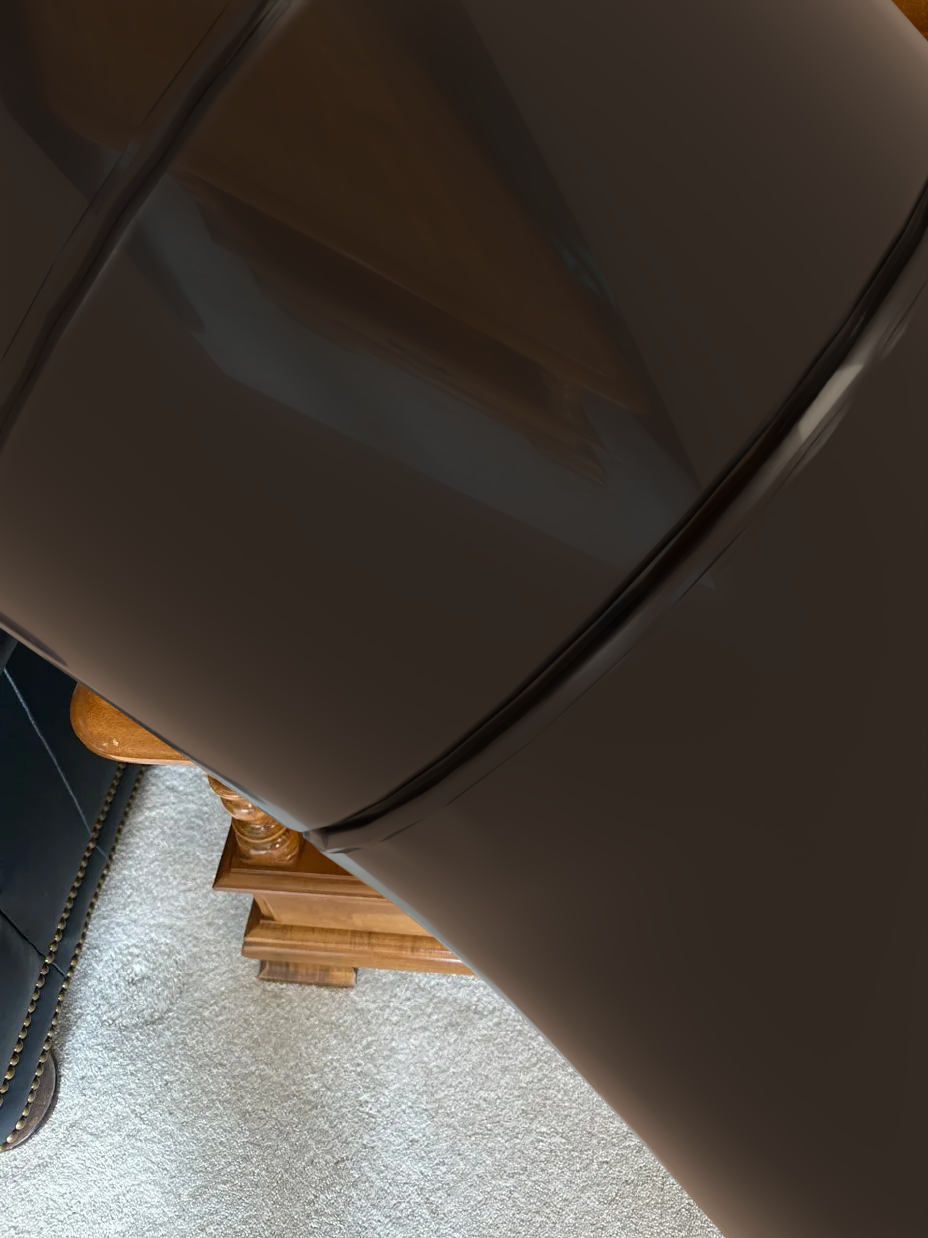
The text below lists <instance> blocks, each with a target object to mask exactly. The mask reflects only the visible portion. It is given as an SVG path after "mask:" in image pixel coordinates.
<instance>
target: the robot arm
mask: <svg viewBox="0 0 928 1238" xmlns="http://www.w3.org/2000/svg"><path fill="white" fill-rule="evenodd" d="M0 629H2V630H3V631H4V632H6V633H7V634H9V635H10V636H12V637H13V638H14V639H16V640H17V641H19V642H20V643H22V644H23V645H25V646H26V647H27V648H29V649H30V650H31V651H33V652H34V653H36V655H39V656H40V657H42V658H43V660H46V661H47V662H49V663H50V664H52V665H53V666H54V667H55V668H57V669H59V670H60V671H62V672H63V673H64V674H65V675H67V676H69V677H70V678H72V679H73V680H74V681H76V682H77V683H78V684H80V685H82V686H83V687H84V688H85V689H87V690H88V691H90V692H91V693H93V694H94V695H96V696H97V697H98V698H100V699H101V700H103V701H104V702H106V703H107V704H108V705H110V706H111V707H113V708H114V709H116V710H117V711H118V712H119V713H121V714H123V715H124V716H125V717H126V718H127V719H130V721H133V722H134V723H136V724H137V725H138V726H140V727H141V728H142V729H144V730H146V731H147V732H148V733H150V734H151V735H152V736H154V737H155V738H157V739H158V740H160V741H161V742H162V743H164V744H166V746H168V747H170V748H171V749H173V750H174V751H175V752H177V753H178V754H179V755H181V756H182V757H184V758H185V759H186V760H188V761H190V762H191V763H192V764H194V765H195V766H197V767H198V768H200V770H202V771H204V772H205V773H207V774H208V775H209V776H210V777H212V778H214V779H215V780H216V781H218V782H220V783H221V784H222V785H224V786H225V787H226V788H228V789H229V790H230V791H232V792H233V793H235V794H237V795H238V796H239V797H241V798H242V799H243V800H245V801H246V802H248V803H249V804H251V805H252V806H253V807H255V808H256V809H258V810H259V811H260V812H262V813H263V814H265V815H266V816H268V817H269V818H271V819H272V820H274V821H275V822H276V823H278V824H279V825H281V826H282V827H283V828H286V829H290V830H293V831H295V832H299V833H302V837H303V838H304V839H305V840H306V841H308V842H309V843H311V845H313V847H314V848H315V849H316V850H317V851H318V852H319V853H321V854H322V855H323V856H325V857H327V858H328V859H329V860H331V861H332V862H334V863H335V864H336V865H338V866H339V867H340V868H342V869H343V870H344V871H346V872H348V873H349V874H351V875H352V876H353V877H355V878H356V879H357V880H358V881H360V882H361V883H363V884H364V885H366V886H367V887H368V888H370V889H371V890H372V891H374V892H375V893H377V894H378V895H380V897H382V898H384V899H385V900H387V901H388V902H389V903H391V904H392V905H394V906H395V907H396V908H398V909H399V910H400V911H401V912H402V913H404V914H405V915H406V916H408V917H409V918H410V919H411V920H413V921H414V922H415V924H417V925H418V926H419V927H421V928H422V929H423V930H424V931H426V932H427V933H428V934H429V935H430V936H431V937H433V938H434V939H435V940H436V941H437V942H439V943H440V944H441V945H443V946H444V948H446V949H447V950H448V951H449V952H451V953H452V954H453V955H454V956H455V957H456V958H457V959H458V960H459V961H460V962H462V963H463V965H464V966H466V967H467V968H468V969H469V970H470V971H471V972H472V973H473V974H474V975H476V976H477V978H479V979H480V980H481V981H482V982H483V983H484V984H486V985H487V987H489V988H490V989H491V990H492V991H493V992H494V993H495V994H497V995H498V997H499V998H501V999H502V1000H503V1001H504V1002H505V1003H506V1004H508V1006H509V1007H511V1009H513V1010H514V1011H515V1012H516V1013H517V1014H518V1015H519V1016H520V1017H521V1018H522V1019H523V1020H524V1021H525V1022H526V1023H527V1024H528V1025H529V1026H530V1027H531V1028H532V1029H533V1031H535V1032H536V1033H537V1034H538V1035H539V1036H540V1037H541V1038H542V1040H544V1042H545V1043H547V1044H548V1045H549V1046H550V1047H551V1048H552V1050H554V1052H555V1053H556V1054H557V1055H558V1056H560V1058H561V1059H562V1060H563V1061H564V1062H565V1063H566V1064H567V1065H568V1066H569V1067H570V1068H571V1069H572V1070H573V1071H574V1072H575V1073H576V1074H577V1075H578V1076H579V1077H580V1078H581V1080H583V1081H584V1082H585V1083H586V1085H588V1086H589V1087H590V1089H591V1090H592V1091H593V1092H594V1093H595V1094H596V1095H597V1096H598V1097H599V1098H600V1099H601V1100H602V1101H603V1102H604V1103H605V1104H606V1106H608V1107H609V1109H610V1110H611V1111H612V1112H613V1113H614V1114H615V1115H616V1117H618V1118H619V1119H620V1120H621V1122H623V1123H624V1124H625V1126H627V1128H628V1129H629V1130H630V1131H631V1132H632V1133H633V1134H634V1136H635V1137H636V1138H637V1139H638V1140H639V1141H640V1143H641V1144H642V1145H643V1146H644V1147H645V1148H646V1149H647V1150H648V1151H649V1152H650V1154H651V1155H652V1156H653V1157H654V1158H655V1159H656V1161H657V1162H658V1163H659V1164H660V1165H661V1167H663V1168H664V1170H665V1171H666V1172H667V1173H668V1174H669V1176H670V1177H671V1178H673V1180H674V1181H675V1182H676V1183H677V1184H678V1185H679V1186H680V1188H681V1189H682V1190H683V1191H684V1193H686V1194H687V1196H689V1198H690V1199H691V1200H692V1201H693V1202H694V1204H696V1206H697V1207H698V1208H699V1209H700V1210H701V1211H702V1213H703V1214H704V1215H705V1216H706V1217H707V1218H708V1219H709V1220H710V1222H711V1223H712V1224H713V1225H714V1226H715V1227H716V1228H717V1229H718V1231H719V1232H720V1233H721V1235H722V1236H723V1237H724V1238H928V40H927V38H925V36H924V35H923V34H922V33H921V32H920V31H919V29H917V28H916V26H915V25H914V24H913V23H912V22H911V21H910V19H909V18H908V17H907V16H906V15H905V14H904V13H903V12H902V11H901V9H900V8H899V7H898V6H897V5H896V4H895V2H894V1H893V0H0Z"/></svg>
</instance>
